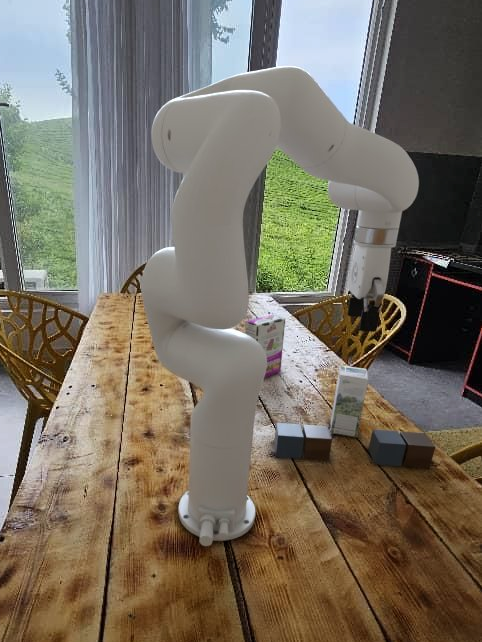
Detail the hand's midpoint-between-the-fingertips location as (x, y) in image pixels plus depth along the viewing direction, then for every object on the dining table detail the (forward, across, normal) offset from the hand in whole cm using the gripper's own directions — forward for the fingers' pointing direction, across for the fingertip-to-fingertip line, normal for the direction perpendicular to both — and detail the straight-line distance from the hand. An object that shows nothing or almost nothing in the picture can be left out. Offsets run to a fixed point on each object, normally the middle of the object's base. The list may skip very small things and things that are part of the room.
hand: (360, 323), depth 90 cm
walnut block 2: (+25, +11, +11) cm, 29 cm away
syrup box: (+25, +1, 0) cm, 25 cm away
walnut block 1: (+25, +11, -8) cm, 28 cm away
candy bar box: (+25, -27, -17) cm, 41 cm away
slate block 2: (+25, +11, +6) cm, 28 cm away
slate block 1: (+25, +11, -14) cm, 30 cm away
